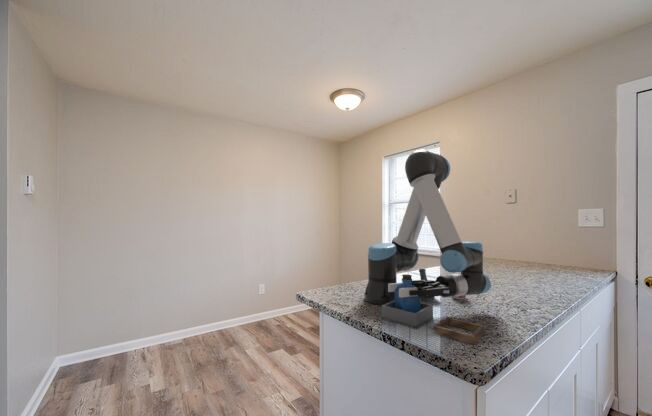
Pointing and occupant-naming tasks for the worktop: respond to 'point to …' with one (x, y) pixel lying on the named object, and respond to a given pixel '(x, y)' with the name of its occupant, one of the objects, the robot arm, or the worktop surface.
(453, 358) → the worktop surface
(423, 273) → the mortar and pestle
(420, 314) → the bin
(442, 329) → the holder
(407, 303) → the perfume bottle
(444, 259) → the robot arm
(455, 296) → the pill bottle
